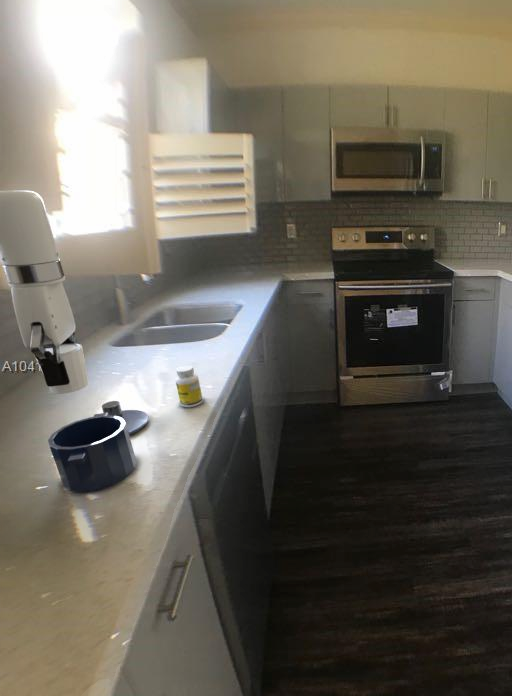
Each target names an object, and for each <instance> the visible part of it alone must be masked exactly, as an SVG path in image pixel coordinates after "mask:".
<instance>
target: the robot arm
mask: <svg viewBox="0 0 512 696" xmlns="http://www.w3.org/2000/svg"><path fill="white" fill-rule="evenodd" d="M50 223H51V222H50V220H49V216H48V214H47V209H46V206H45V203H44V200H43V198H42V197H41V195H40V194H39V193H37V192H36V191H32V190H19V189H18V190H0V264H1V267H2V271H3V274H4V277H5V279H6V283H7V286H8V287H9V288H10V291H11V297H12V298H11V299H12V304H13V305H12V306H13V310H14V314H15V317H16V322H17V325H18V329H19V332H20V336H21V339H22V343H23V345H24V347H25V348H26V349H29V350H30V352H31V353H32V354H33V356H34V355H35V356H34V358H35V360H36V359H37V360H38V363H39V365H40V366H41V369H42V371H41V373H42V372H43V373H42V375H44V376H43V378H44V381H45V384H46V386H47V387H48V386H49V387H51V386H60V385H67V384H69V382H70V380H69V377H68V374H67V370H66V367H65V364H64V361H61V359H60V350H59V345H61V344H78V340H77V338H76V335H75V334H76V326H77V325H76V321H75V318H74V317H75V316H74V313H73V310H72V307H71V304H70V301H69V298H68V295H67V292H66V290H65V287H64V285H63V282H65V281H66V276H65V273H64V270H63V266H62V262H61V259H60V256H59V252H58V249H57V245H56V241H55V237H54V234H53V229H52V227H51V224H50ZM49 342H52V343H49ZM44 343H45V344H44ZM47 343H48V344H47ZM46 349H53V354H52V353H51V352H50V351H46ZM37 360H36V361H37ZM38 363H37V364H38ZM39 365H38V366H39ZM41 369H40V370H41ZM49 387H48V388H49Z"/></svg>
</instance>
